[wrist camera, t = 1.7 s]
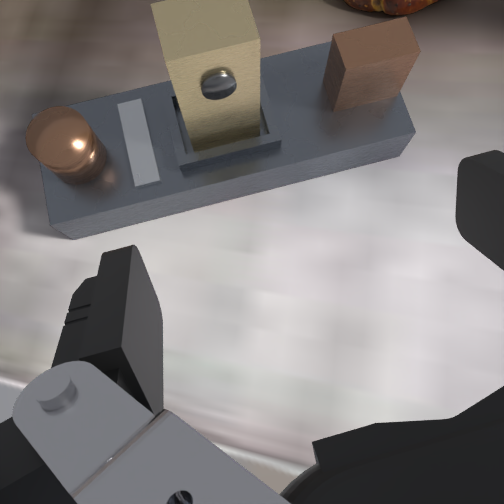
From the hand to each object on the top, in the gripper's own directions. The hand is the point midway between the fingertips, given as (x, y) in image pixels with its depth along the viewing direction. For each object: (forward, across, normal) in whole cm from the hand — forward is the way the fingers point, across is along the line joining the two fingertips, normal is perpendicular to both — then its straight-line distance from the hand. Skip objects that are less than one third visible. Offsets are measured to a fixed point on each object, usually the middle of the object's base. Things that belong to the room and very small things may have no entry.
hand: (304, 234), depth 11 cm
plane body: (+22, 0, +5) cm, 23 cm away
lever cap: (+20, 0, +2) cm, 20 cm away
